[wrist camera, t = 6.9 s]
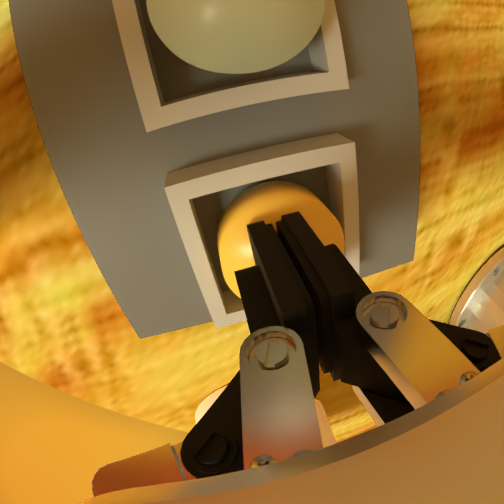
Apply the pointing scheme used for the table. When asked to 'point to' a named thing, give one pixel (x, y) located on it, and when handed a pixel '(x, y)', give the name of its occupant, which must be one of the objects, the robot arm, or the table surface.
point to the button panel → (219, 144)
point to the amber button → (270, 211)
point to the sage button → (235, 31)
